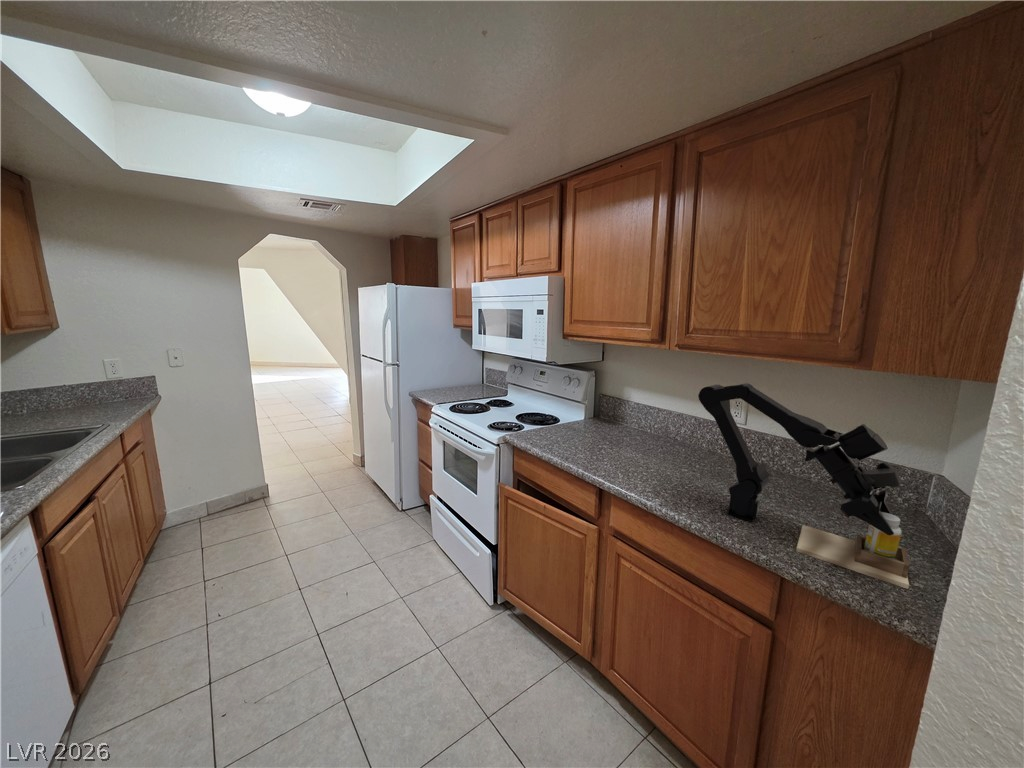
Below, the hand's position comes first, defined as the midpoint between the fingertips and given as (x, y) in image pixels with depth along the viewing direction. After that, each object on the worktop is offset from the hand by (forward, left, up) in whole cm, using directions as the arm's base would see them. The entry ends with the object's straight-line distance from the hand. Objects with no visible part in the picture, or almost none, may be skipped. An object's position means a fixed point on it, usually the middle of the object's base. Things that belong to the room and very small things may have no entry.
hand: (893, 530), depth 89 cm
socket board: (-6, 0, -9) cm, 11 cm away
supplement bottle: (-1, 0, -7) cm, 7 cm away
